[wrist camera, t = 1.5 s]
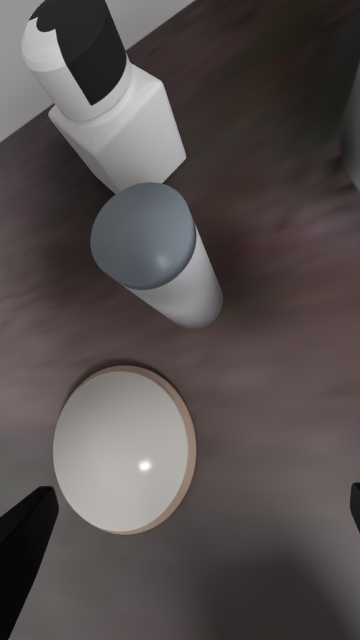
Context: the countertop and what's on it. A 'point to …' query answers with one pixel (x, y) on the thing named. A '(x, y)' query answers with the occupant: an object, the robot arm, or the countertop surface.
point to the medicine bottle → (101, 94)
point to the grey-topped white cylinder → (157, 253)
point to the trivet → (125, 449)
